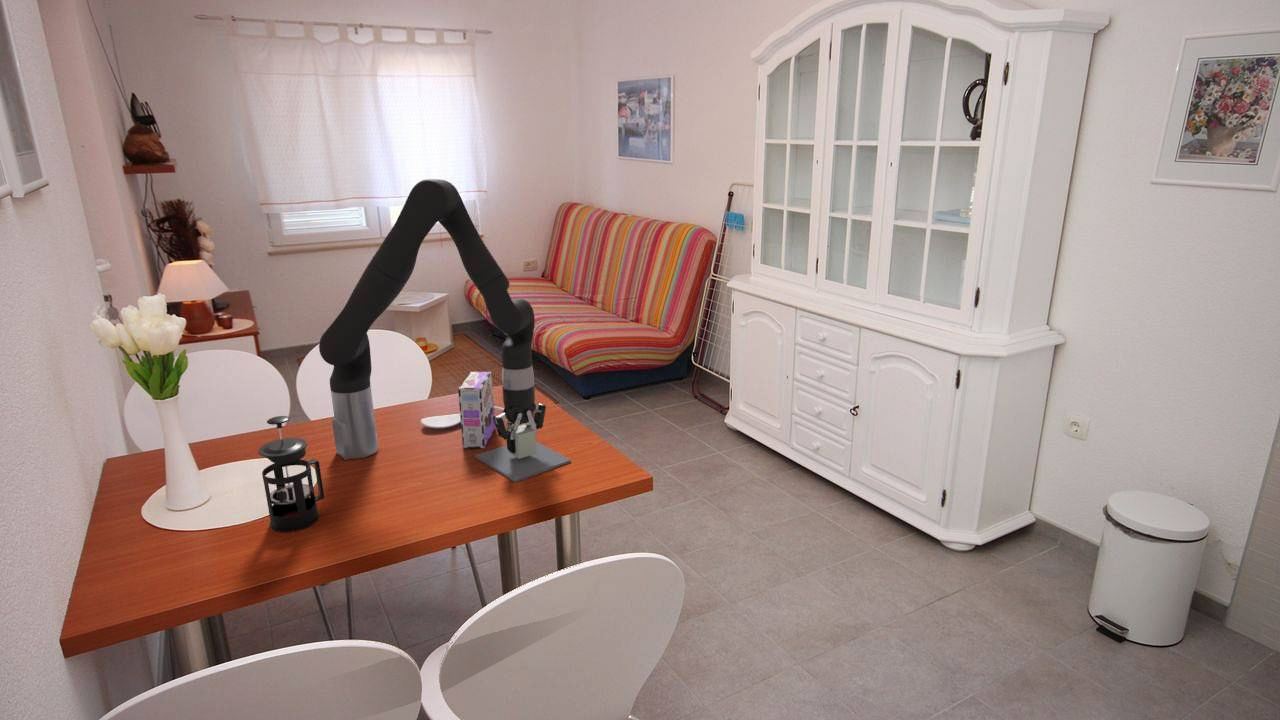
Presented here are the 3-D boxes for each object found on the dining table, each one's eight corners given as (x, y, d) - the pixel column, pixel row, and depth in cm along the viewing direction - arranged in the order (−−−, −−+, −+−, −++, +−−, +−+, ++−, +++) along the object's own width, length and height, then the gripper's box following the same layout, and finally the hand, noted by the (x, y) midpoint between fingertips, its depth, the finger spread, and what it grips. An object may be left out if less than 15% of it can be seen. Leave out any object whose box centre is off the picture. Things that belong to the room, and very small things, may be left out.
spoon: (539, 415, 210) (538, 403, 209) (425, 436, 196) (424, 424, 195) (528, 405, 218) (528, 394, 217) (418, 424, 204) (417, 413, 203)
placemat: (514, 482, 170) (514, 479, 170) (475, 457, 183) (475, 455, 183) (570, 462, 180) (570, 459, 180) (529, 440, 193) (529, 437, 193)
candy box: (485, 449, 188) (480, 388, 183) (462, 449, 188) (456, 388, 183) (496, 428, 201) (492, 370, 196) (474, 427, 201) (470, 370, 196)
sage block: (519, 458, 177) (518, 435, 176) (508, 452, 181) (506, 429, 179) (536, 452, 181) (535, 430, 179) (525, 446, 184) (524, 424, 182)
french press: (279, 539, 147) (260, 432, 140) (258, 523, 153) (240, 420, 146) (335, 516, 155) (320, 414, 148) (314, 502, 161) (298, 404, 154)
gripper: (534, 373, 183) (537, 436, 188) (483, 386, 174) (488, 452, 179) (552, 380, 177) (554, 445, 182) (500, 394, 168) (504, 462, 173)
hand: (522, 448), depth 180 cm, fingers closed on sage block, 4 cm apart
